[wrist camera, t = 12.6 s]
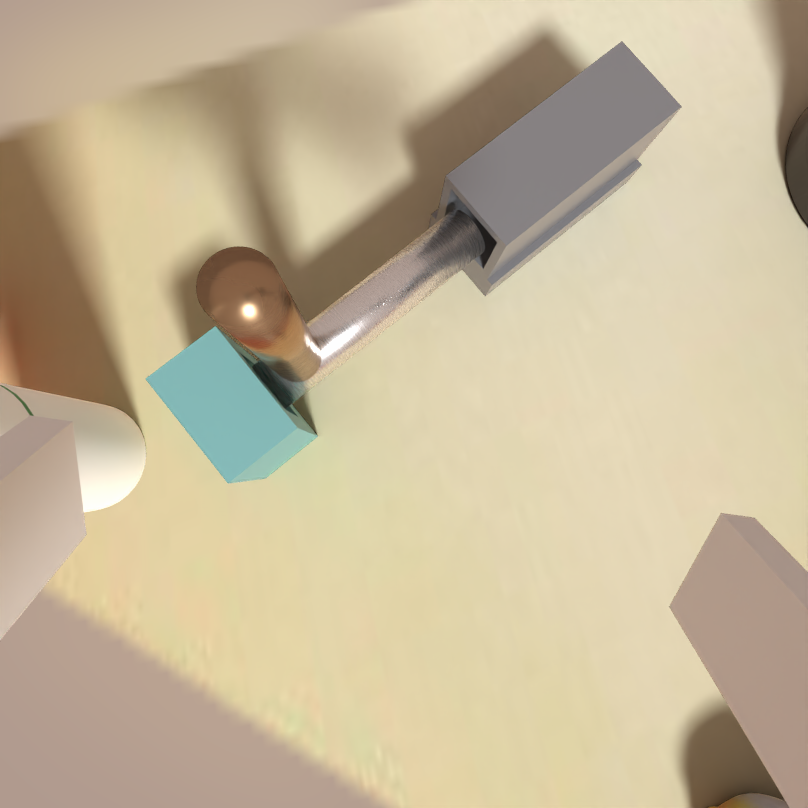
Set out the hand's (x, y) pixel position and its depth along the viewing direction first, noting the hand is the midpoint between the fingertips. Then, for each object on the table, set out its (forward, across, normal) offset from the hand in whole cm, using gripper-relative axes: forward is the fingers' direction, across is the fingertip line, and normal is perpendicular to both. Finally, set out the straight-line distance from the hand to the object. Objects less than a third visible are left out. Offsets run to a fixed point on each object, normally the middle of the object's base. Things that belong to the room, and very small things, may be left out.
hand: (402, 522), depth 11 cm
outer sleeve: (+32, +9, +5) cm, 33 cm away
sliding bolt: (+23, -2, -3) cm, 23 cm away
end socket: (+23, -8, -11) cm, 26 cm away
